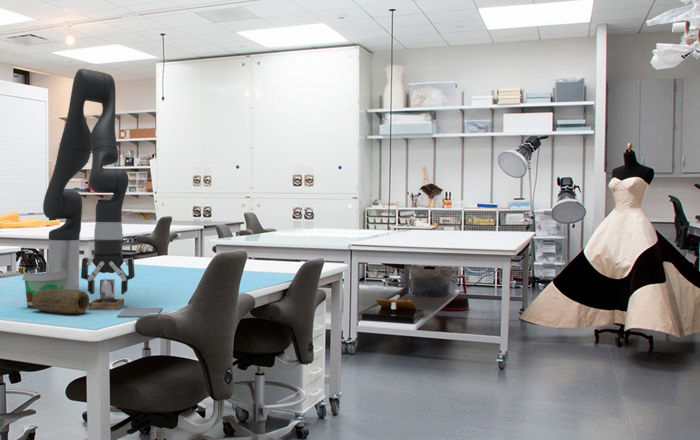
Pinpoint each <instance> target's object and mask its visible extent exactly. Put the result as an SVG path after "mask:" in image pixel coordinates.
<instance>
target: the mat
mask: <svg viewBox="0 0 700 440" xmlns="http://www.w3.org/2000/svg"><path fill="white" fill-rule="evenodd" d="M162 311H163V307H126V308H124V309H123V310H122V311H121V312H120V313H119V314H117V315H116V318H142V317H141V316H144V315H146V314H150V313H159V314H160V313H161V312H162Z"/></svg>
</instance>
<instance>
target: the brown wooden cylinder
mask: <svg viewBox="0 0 700 440" xmlns="http://www.w3.org/2000/svg"><path fill="white" fill-rule="evenodd" d="M89 303H90V297H89V295H88V293H86V291H83V290H80V289H79V290H72V289H45V290H41V291H38V292H36V293H35V294H34V295H33V297H32V305H33V307H34V308H33V309H36V310H38V311H42V312H46V313H52V314H53V313H55V314H69V315H76V314H78V315H79V314H82V313H84V312H86V311H87V309H89Z"/></svg>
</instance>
